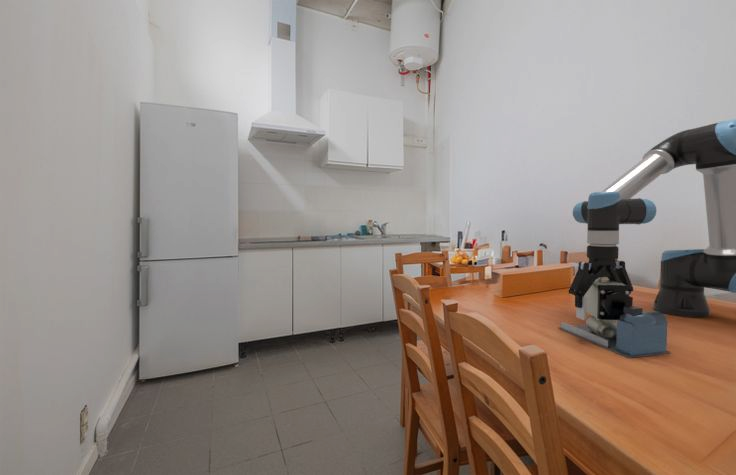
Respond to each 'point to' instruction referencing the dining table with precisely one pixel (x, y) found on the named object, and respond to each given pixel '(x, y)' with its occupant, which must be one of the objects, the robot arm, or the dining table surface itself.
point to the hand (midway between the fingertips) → (600, 317)
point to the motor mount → (630, 333)
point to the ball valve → (606, 306)
